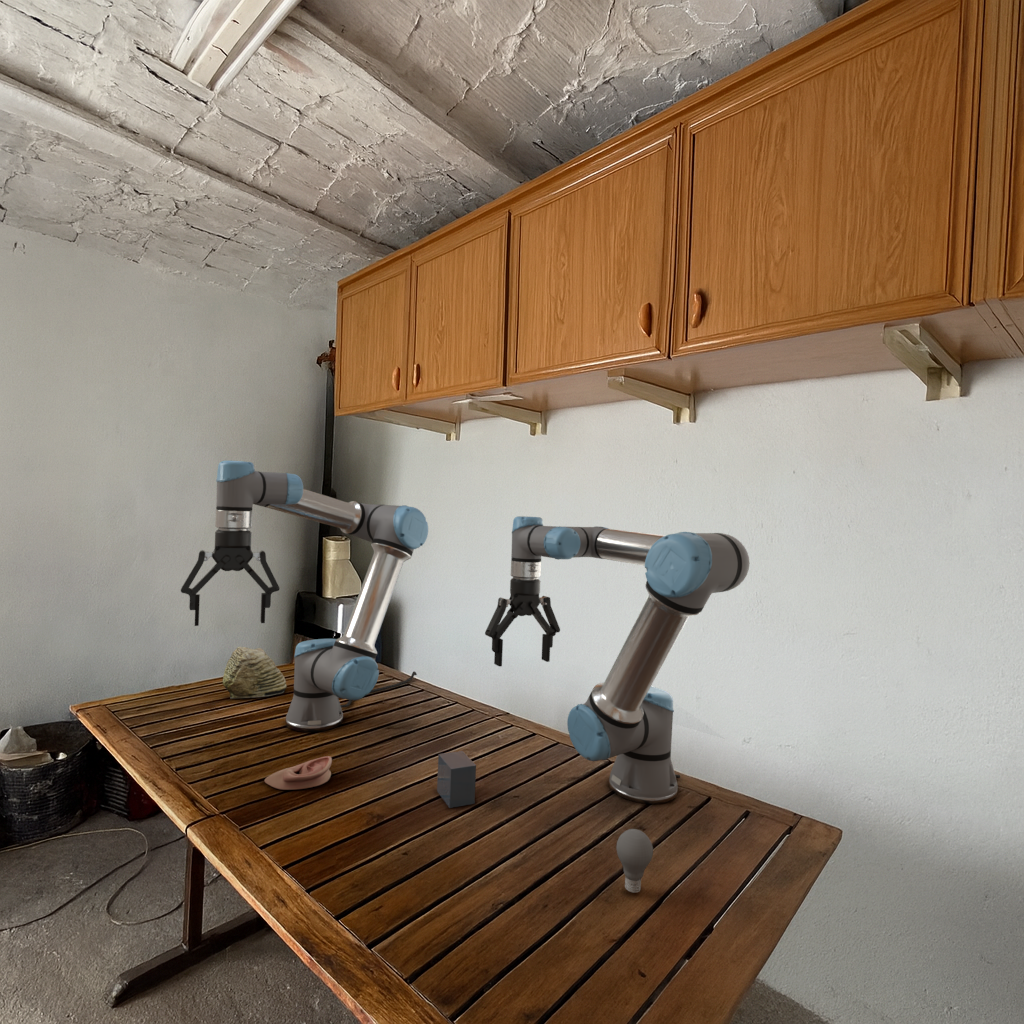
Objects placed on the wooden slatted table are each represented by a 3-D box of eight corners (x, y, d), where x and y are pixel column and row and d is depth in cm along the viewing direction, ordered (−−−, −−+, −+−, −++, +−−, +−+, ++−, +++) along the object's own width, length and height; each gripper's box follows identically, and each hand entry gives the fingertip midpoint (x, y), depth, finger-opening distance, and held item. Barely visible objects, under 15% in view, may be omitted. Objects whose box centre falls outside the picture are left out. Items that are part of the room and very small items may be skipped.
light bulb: (610, 879, 108) (613, 822, 108) (644, 879, 109) (647, 822, 109) (619, 902, 102) (622, 840, 102) (655, 901, 103) (658, 840, 103)
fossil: (218, 695, 195) (220, 647, 195) (278, 685, 208) (279, 640, 207) (228, 703, 189) (230, 653, 188) (289, 692, 201) (290, 645, 201)
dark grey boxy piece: (436, 791, 139) (438, 754, 139) (460, 787, 141) (462, 750, 141) (449, 808, 131) (451, 769, 131) (474, 803, 134) (476, 765, 134)
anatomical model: (256, 768, 137) (286, 748, 148) (256, 786, 137) (285, 765, 148) (313, 776, 134) (338, 755, 145) (312, 794, 134) (338, 772, 145)
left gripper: (169, 529, 134) (166, 629, 134) (293, 531, 144) (290, 624, 145) (171, 527, 141) (168, 622, 141) (290, 529, 151) (286, 618, 152)
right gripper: (487, 581, 149) (483, 670, 149) (575, 578, 161) (572, 662, 161) (473, 577, 156) (470, 663, 156) (559, 575, 167) (556, 655, 168)
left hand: (230, 623), depth 143 cm, fingers open, 13 cm apart
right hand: (522, 662), depth 158 cm, fingers open, 13 cm apart
